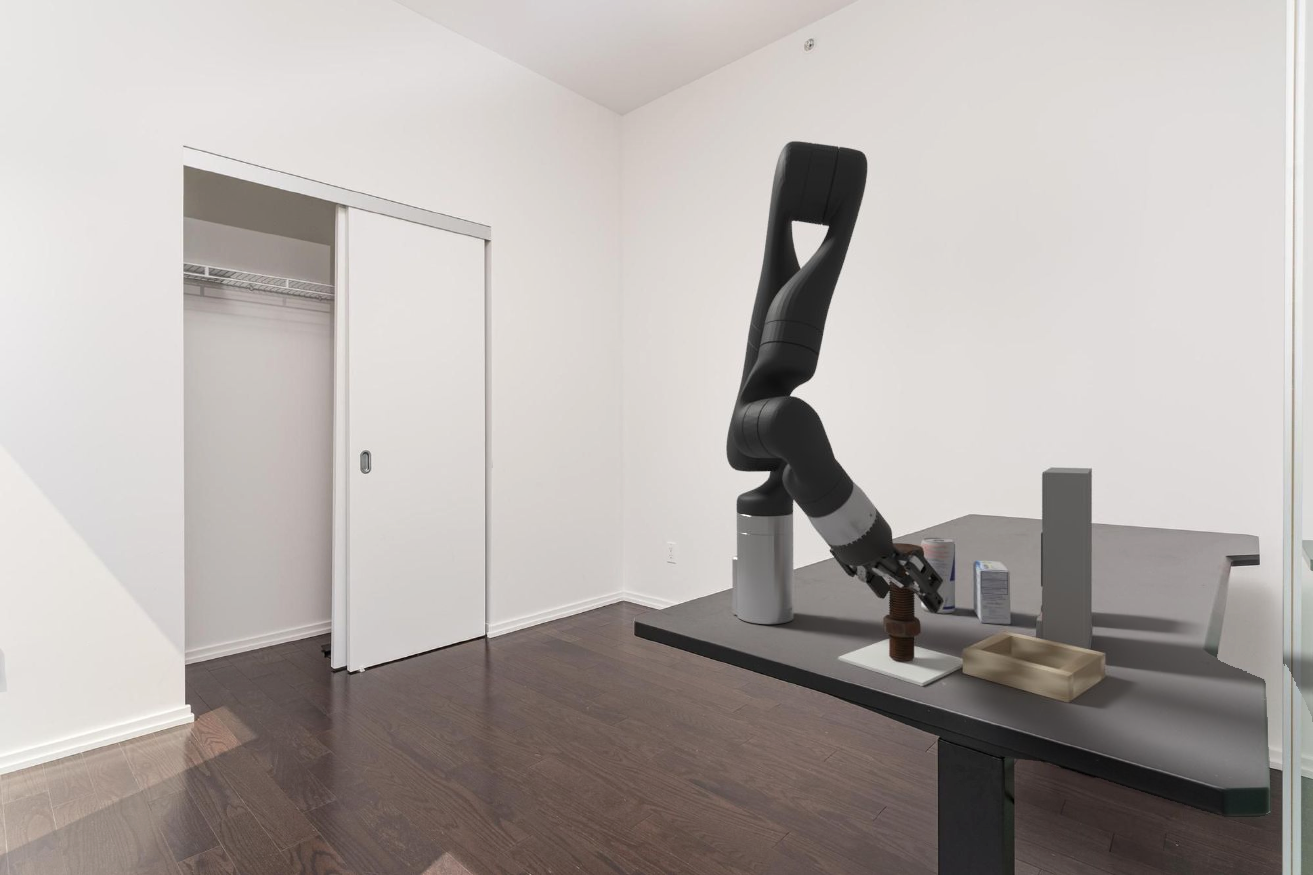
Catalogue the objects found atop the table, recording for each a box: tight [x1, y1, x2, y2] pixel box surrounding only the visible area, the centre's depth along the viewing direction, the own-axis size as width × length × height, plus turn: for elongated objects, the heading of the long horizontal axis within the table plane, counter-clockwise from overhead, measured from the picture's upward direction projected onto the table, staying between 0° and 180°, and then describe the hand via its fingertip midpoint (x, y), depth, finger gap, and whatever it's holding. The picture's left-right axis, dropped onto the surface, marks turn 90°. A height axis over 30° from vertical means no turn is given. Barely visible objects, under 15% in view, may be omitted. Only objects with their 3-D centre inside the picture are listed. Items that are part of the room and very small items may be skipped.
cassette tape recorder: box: [1035, 467, 1094, 650], centre depth 95 cm, size 14×6×25 cm, turn 145°
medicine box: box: [972, 560, 1011, 626], centre depth 109 cm, size 8×4×9 cm, turn 162°
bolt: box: [882, 542, 924, 661], centre depth 88 cm, size 6×5×15 cm
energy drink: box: [920, 537, 956, 615], centre depth 114 cm, size 5×5×12 cm
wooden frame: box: [962, 630, 1106, 704], centre depth 83 cm, size 12×12×3 cm
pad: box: [837, 638, 963, 687], centre depth 88 cm, size 12×12×1 cm
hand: (910, 599), depth 89 cm, fingers open, 8 cm apart
